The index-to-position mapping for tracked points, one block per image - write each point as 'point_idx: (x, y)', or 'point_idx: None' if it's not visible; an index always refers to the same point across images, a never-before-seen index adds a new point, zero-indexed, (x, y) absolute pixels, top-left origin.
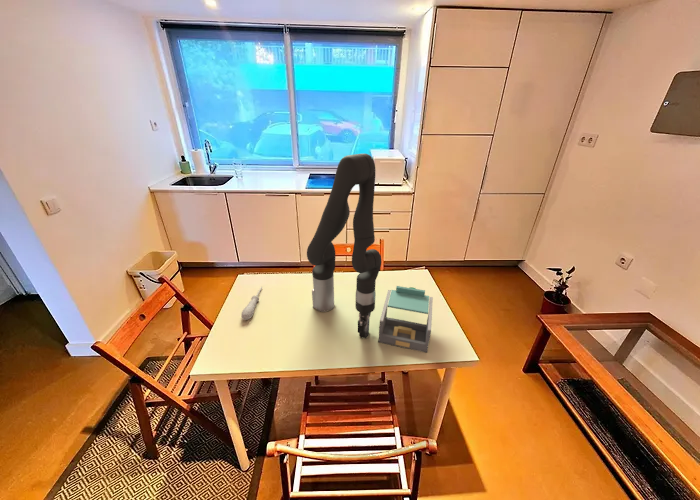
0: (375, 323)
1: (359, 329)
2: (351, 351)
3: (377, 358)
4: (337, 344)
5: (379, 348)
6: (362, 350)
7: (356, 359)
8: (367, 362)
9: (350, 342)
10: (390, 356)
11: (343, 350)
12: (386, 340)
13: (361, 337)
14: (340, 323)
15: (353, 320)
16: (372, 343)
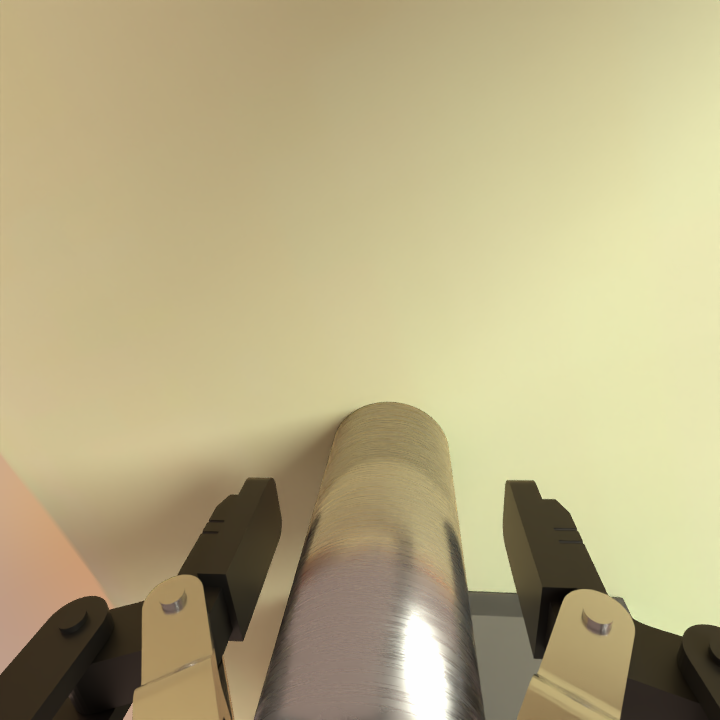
0: (614, 531)
1: (81, 663)
2: (105, 390)
3: None
4: (101, 196)
5: (270, 599)
6: (175, 482)
7: (51, 456)
8: (81, 540)
9: (212, 344)
10: (230, 667)
11: (66, 304)
12: None
13: (333, 441)
14: (521, 56)
15: (637, 258)
16: (301, 545)
